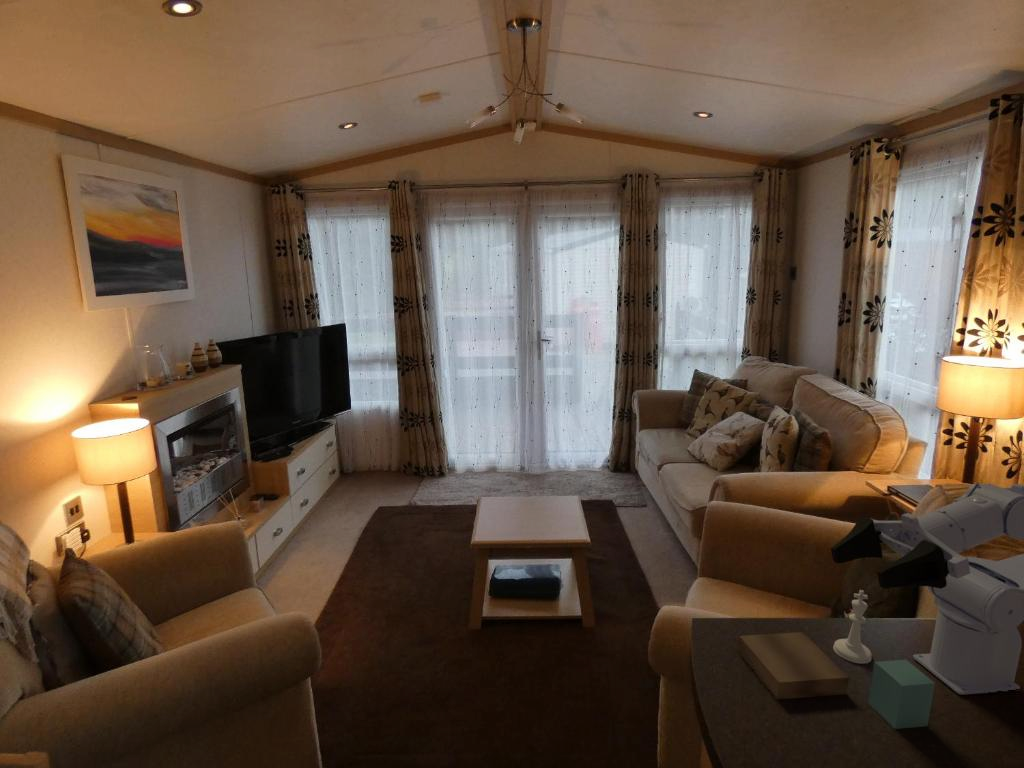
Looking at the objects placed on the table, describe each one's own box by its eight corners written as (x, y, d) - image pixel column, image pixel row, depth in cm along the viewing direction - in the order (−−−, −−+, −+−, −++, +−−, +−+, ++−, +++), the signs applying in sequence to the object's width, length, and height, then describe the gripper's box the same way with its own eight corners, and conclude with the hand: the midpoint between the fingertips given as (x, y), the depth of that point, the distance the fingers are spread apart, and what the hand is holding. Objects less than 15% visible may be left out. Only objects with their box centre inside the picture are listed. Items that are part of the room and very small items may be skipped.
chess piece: (877, 666, 84) (887, 602, 82) (839, 660, 85) (849, 597, 83) (864, 645, 89) (873, 584, 87) (828, 640, 90) (837, 580, 88)
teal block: (898, 700, 77) (906, 659, 76) (927, 726, 73) (935, 683, 72) (868, 703, 77) (874, 661, 76) (894, 729, 72) (902, 685, 71)
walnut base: (800, 647, 88) (802, 632, 88) (846, 694, 78) (849, 677, 78) (737, 651, 87) (739, 635, 86) (776, 699, 77) (779, 682, 76)
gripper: (893, 488, 84) (810, 519, 81) (995, 522, 70) (898, 561, 67) (901, 534, 85) (819, 565, 83) (1003, 576, 71) (908, 616, 68)
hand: (855, 567), depth 75 cm, fingers open, 7 cm apart
